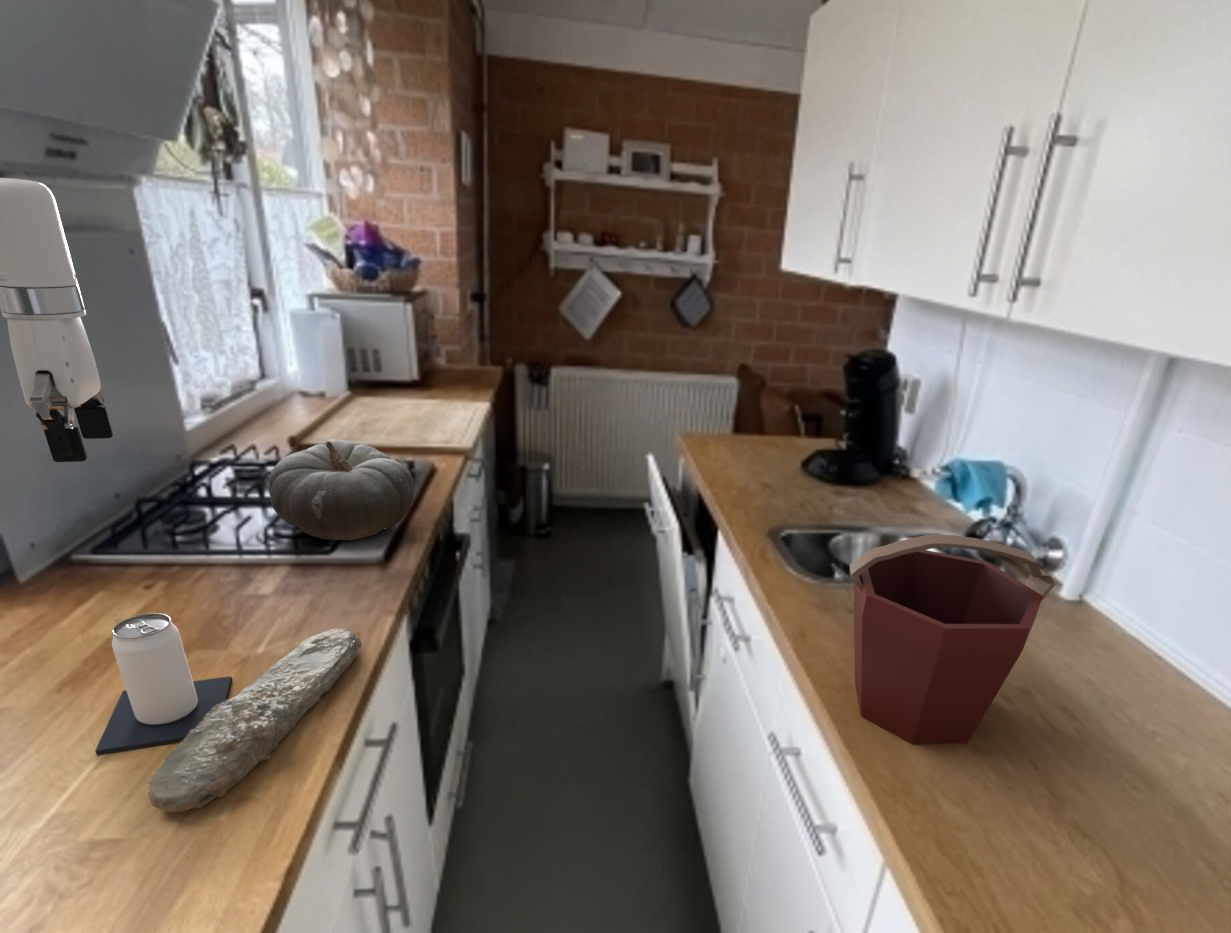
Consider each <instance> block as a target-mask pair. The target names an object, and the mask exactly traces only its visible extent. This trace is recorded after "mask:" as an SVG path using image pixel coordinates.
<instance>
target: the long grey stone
mask: <svg viewBox="0 0 1231 933" xmlns="http://www.w3.org/2000/svg"><path fill="white" fill-rule="evenodd" d="M359 648H363V644H362V640H361V638H359V637H356V632H354V631H352V630H350V629H349V628H348V627H343V628H339V627H336V628H330V629H328V630H326V631H323V632H320V633H317V634H314V635H312V636H309V637H307V638H306V639H304V640H302V641H301V642H300V643H298V645H297V646H296V647H295V648H294V649H292V650H291V651H289V653H287V654H285V656H282V657H281V658H280V659H278V660H277V661H276V662H274V663H273V664H272V665H270V666H269V667H268V668H267V669H266V670H265V672H263V673H262V674H261V675H260V676H259V677H257V678H256V679H254V680H253V681H252V682H250V683H249V684H247V686H245V687H243V688H241V689H240V690H238V692H236V694H235V695H234V696H233V697H231V698H228V699H227V700H225V701H223V702H222V703H220V704H217V705H216V706H214V707H212V708H211V710H210V711H209V712H208V713H207V714H206V715H205V716H204V717H203V720H202V721H201V722H199V724H198V725H197V726H196V727H195V728H194V729H191V730H190V732H189V734H187V736H186V737H185V738H184V739H183V740H182V741H181V742H179V744H178V745H177V746H176V747H175V749H174V750H173V749H172V751H171V752H170V753H168V755H166V756H165V761H164V762H163V763H162V765H161V766H160V767H159V768H158V769H157V771H156V772H155V774H154V776H153V777H152V778H151V780H150V781H149V783H148V784H149V786H148V793H147V796H148V798H149V801H150V802H151V805H152V806H153V807H155V808H156V809H157V810H161V811H164V812H168V813H176V812H185V811H188V810H192V809H200V808H203V806H204V805H207V804H209V802H211V801H213V800H214V799H215V798H217V797H218V798H221V797H223V796H224V795H226V793H227V791H228V790H230V789H231V788H232V787H233V786H235V785H236V784H237V783H239V782H241V781H242V780H243V779H244V778H245V777H246V776H247V775H248V773H249V772H250V771H252V770H253V769H254V767H255V766H256V765H258V763H262V762H266V761H269V760H271V752H273V751H274V750H275V749H277V748H278V746H279V745H278V744H279V742H280V741H281V740H282V739H283V738H285V736H287V734H288V733H290V732H291V730H292V729H294V728H295V726H297V724H298V723H299V720H301V718H302V716H303V715H305V713H306V712H307V711H308V710H309V709H311V708H312V707H313V706H314V705H316V703H317V702H319V701H321V696H322V695H323V694H324V693H327V692H329V691H330V690H331V688H332V686H333V685H334V684H335V683H336V681H337V680H339V678H340V676H341V675H342V674H343V673H344V672H346V670H347V669H348V668H349V667H350V666H351V665H352V663H353V662H354V661H353V660H354V659H357V653H358V651H359V650H358V649H359Z"/></svg>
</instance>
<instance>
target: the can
mask: <svg viewBox="0 0 1231 933" xmlns="http://www.w3.org/2000/svg"><path fill="white" fill-rule="evenodd" d="M111 633H112V635H113V636H112V640H111V646H112V651H113V654H114V657H115V658H114V659H115V660H116V664H117V667H118V670H119V673H120V675H121V679H122V682H123V684H124V688H125V691H127V694H128V697H129V700H130V703H131V706H132V709H133V712H134V714H135V717H136V719H137V720H138V721H139V722H142V723H144V724H147V725H164V724H169V723H173V722H176V721H178V720H180V719H182V718H184V717H186V716H187V715H189V714H190V713H191V712H192V711H193V710H194V709H195V707H196V705H197V703H198V698H197V694H196V691H195V687H194V683H193V681H194V680H193V676H192V672H191V670H190V666H189V665H190V664H189V663H188V658H187V655H186V651H185V648H184V644H183V641H182V637H181V634H180V630H179V629H178V627H177V626H176V624H174V623H173V622H172V618H171V616H169V615H167V614H164V613H160V612H149V613H141V614H137V615H133V616H130V617H127V618H125V619H123V620H121V621H119V622H118V623H116V624H115V625H114V626H113V627H112V630H111Z"/></svg>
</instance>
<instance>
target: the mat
mask: <svg viewBox="0 0 1231 933" xmlns="http://www.w3.org/2000/svg"><path fill="white" fill-rule="evenodd" d="M232 677H233V676H231V675H229V676H222V677H214V678H208V679H207V678H206V679H200V680H193V683H194V687H195V691H196V694H197V698H198V703H197V705H196V707H195V709H194V710H193V711H192V712H191V713H190V714H189V715H187V716H186V717H184V718H182V719H180V720H178V721H176V722H173V723H169V724H164V725H147V724H144V723H142V722H139V721H138V720H137V719H136V717H135V714H134V712H133V709H132V706H131V703H130V700H129V697H128V694H127V691H126V690H122V692H121V694H120V696H119V698H118V700H117V703H116V704H115V707H114V709H113V711H112V713H111V716H110V718H109V720H108V722H107V725H106V726H105V729H104V730H103V733H102V735H101V738H100V740H99V742H98V744H97V746H96V749H95V750H94V751H95V755H96V756H99V755H105V754H111V753H112V754H113V753H119V752H125V751H131V750H137V749H143V748H148V747H156V746H162V745H168V744H174V743H180V742H181V741H182V740H183V739H184V738H185V737H186V736H187V734H189V732H190V730H191V729H194V728H195V727H196V726H197V725H198V724H199V722H201V721H202V720H203V717H204V716H205V715H206V714H207V713H208V712H209V711H210V710H211V708H212V707H214V706H216V705H217V704H220V703H222V702H223V701H225V700H227V699H229V695H230V690H231V686H232V682H233V678H232Z"/></svg>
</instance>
